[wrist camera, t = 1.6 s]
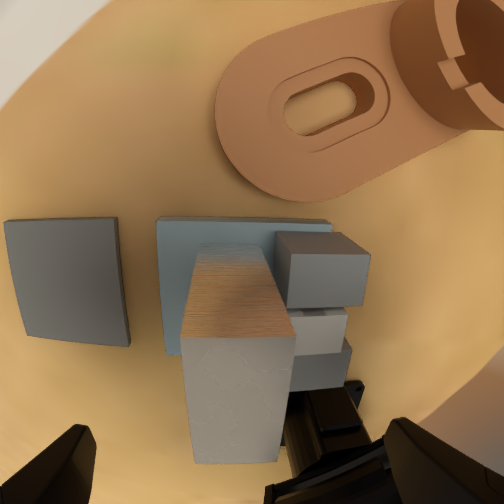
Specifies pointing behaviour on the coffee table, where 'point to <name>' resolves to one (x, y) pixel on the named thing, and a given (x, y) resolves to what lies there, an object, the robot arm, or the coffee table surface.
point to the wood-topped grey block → (235, 356)
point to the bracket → (363, 93)
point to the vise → (286, 279)
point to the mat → (69, 279)
